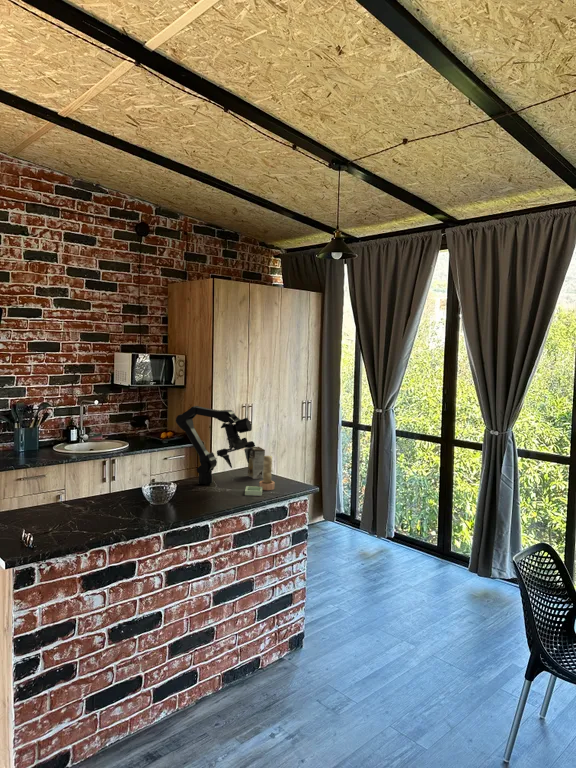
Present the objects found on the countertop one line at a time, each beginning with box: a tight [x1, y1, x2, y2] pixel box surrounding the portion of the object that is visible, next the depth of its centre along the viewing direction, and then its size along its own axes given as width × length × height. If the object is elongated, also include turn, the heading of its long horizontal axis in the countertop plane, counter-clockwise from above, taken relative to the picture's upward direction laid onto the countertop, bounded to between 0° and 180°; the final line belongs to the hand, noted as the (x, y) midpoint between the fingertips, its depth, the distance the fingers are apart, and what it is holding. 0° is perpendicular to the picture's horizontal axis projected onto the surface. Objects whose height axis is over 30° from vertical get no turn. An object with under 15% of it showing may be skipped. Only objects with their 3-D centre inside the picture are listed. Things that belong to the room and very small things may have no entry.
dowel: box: [262, 455, 273, 484], centre depth 269 cm, size 4×4×16 cm
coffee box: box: [247, 446, 266, 480], centre depth 291 cm, size 9×6×16 cm
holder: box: [258, 479, 276, 491], centre depth 269 cm, size 8×8×4 cm
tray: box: [244, 485, 263, 497], centre depth 260 cm, size 8×8×3 cm
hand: (239, 465), depth 268 cm, fingers open, 9 cm apart
